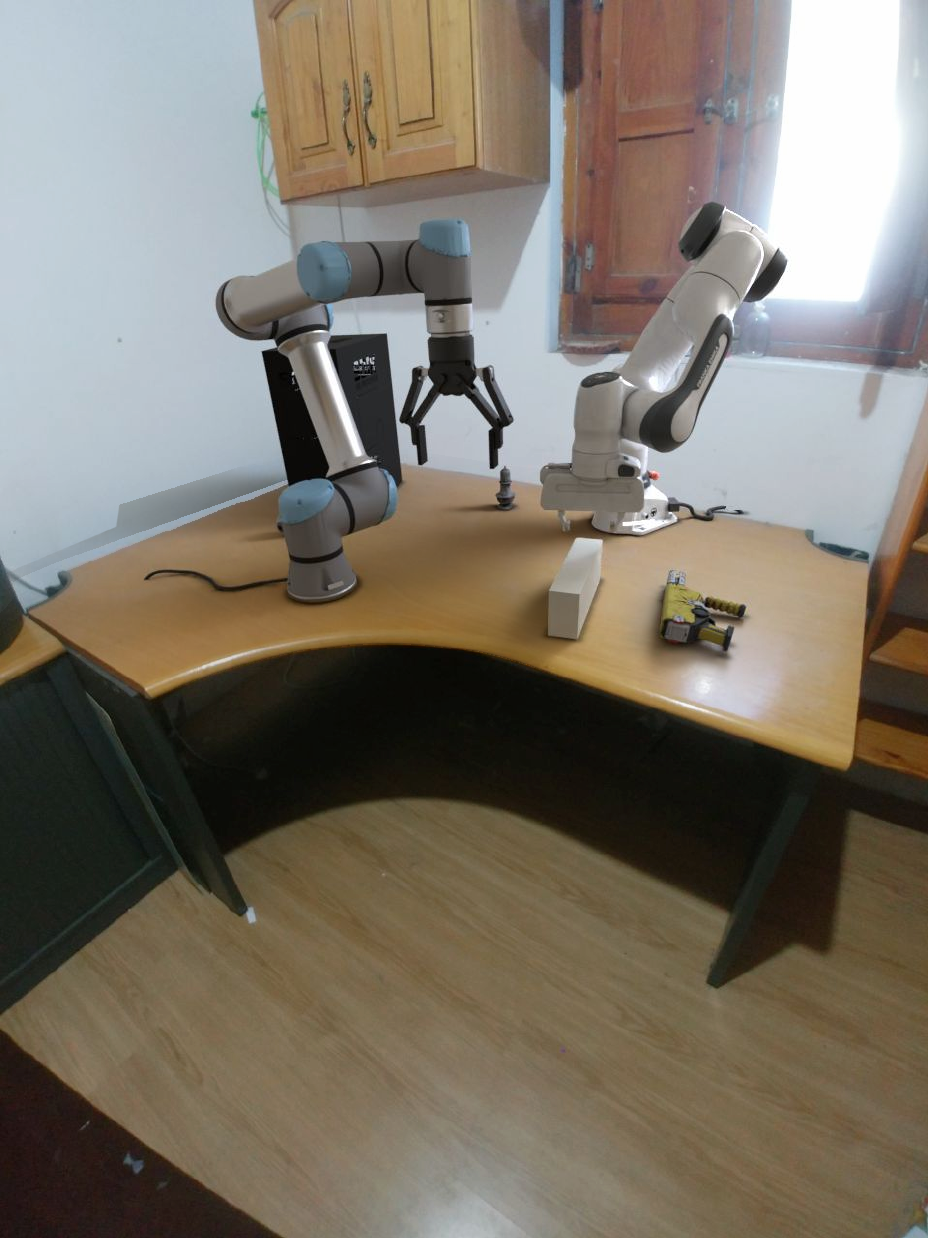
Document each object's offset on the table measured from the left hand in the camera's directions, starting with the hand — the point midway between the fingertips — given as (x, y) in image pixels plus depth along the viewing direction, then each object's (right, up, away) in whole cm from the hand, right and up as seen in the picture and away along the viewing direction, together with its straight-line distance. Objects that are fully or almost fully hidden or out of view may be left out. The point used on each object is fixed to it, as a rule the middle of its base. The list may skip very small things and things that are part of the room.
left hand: (457, 465), depth 108 cm
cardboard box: (-34, +10, +81) cm, 88 cm away
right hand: (+27, -9, +16) cm, 32 cm away
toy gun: (+47, -28, +8) cm, 55 cm away
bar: (+24, -25, +15) cm, 38 cm away
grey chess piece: (+13, +5, +68) cm, 69 cm away
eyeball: (-47, -4, +57) cm, 74 cm away
